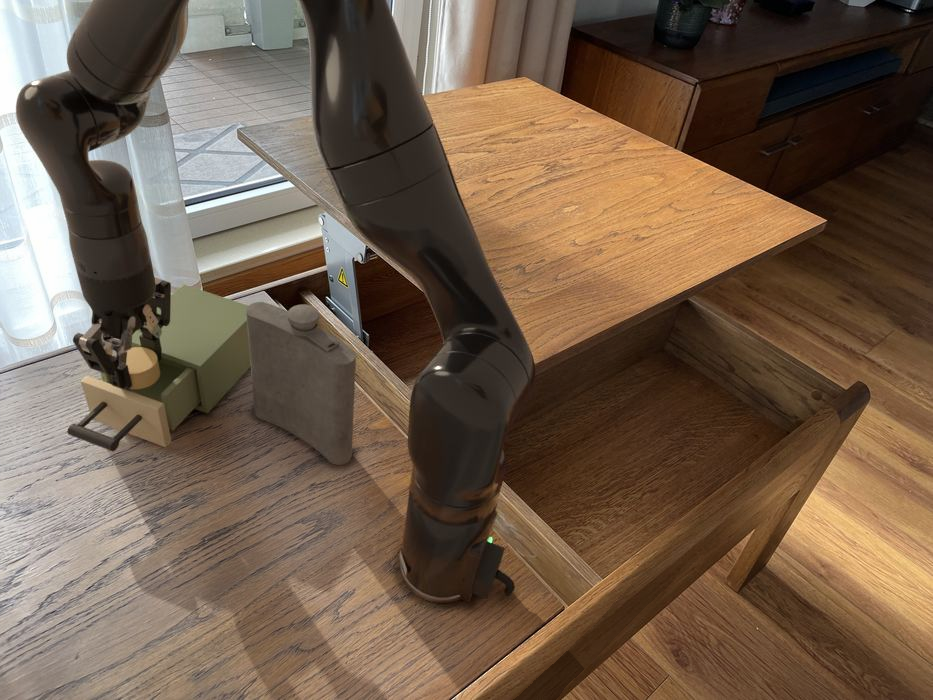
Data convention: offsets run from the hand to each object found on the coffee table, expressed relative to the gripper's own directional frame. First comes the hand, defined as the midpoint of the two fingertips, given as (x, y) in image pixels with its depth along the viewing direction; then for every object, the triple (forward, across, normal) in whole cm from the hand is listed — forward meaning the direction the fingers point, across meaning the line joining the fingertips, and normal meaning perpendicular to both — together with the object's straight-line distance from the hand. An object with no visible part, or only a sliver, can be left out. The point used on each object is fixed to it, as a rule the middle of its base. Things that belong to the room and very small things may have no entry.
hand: (138, 372), depth 88 cm
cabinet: (+8, +11, 0) cm, 14 cm away
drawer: (+7, 0, 0) cm, 7 cm away
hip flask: (+8, +7, -19) cm, 22 cm away
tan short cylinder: (+1, 0, 0) cm, 1 cm away
